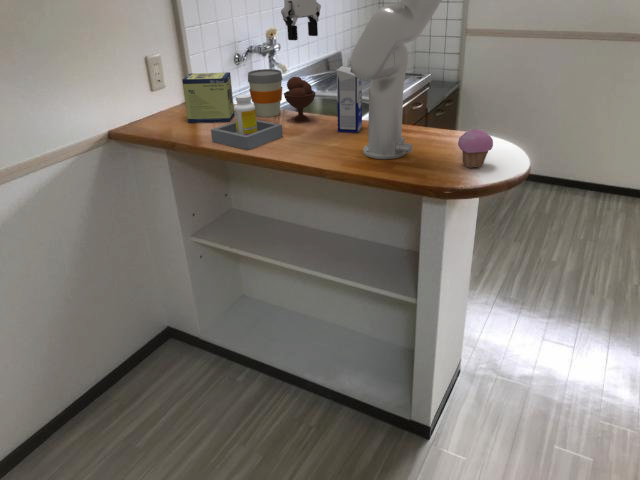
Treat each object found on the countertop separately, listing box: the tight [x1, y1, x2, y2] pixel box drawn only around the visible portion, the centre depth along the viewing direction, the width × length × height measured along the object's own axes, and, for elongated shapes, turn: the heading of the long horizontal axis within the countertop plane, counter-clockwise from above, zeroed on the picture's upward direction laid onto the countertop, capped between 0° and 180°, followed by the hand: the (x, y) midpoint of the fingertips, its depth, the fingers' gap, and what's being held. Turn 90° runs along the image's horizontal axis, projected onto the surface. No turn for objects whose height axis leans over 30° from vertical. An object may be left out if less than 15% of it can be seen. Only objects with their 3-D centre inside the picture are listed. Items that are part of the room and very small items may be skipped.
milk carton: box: [336, 65, 363, 134], centre depth 175 cm, size 7×7×20 cm
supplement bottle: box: [234, 94, 257, 135], centre depth 171 cm, size 7×7×13 cm
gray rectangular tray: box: [210, 119, 284, 151], centre depth 173 cm, size 16×16×4 cm
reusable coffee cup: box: [247, 68, 283, 118], centre depth 198 cm, size 13×13×15 cm
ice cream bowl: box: [283, 76, 317, 123], centre depth 189 cm, size 11×11×15 cm
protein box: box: [181, 71, 235, 124], centre depth 194 cm, size 10×16×16 cm
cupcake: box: [457, 128, 494, 169], centre depth 144 cm, size 9×9×10 cm
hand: (303, 37), depth 162 cm, fingers open, 9 cm apart
